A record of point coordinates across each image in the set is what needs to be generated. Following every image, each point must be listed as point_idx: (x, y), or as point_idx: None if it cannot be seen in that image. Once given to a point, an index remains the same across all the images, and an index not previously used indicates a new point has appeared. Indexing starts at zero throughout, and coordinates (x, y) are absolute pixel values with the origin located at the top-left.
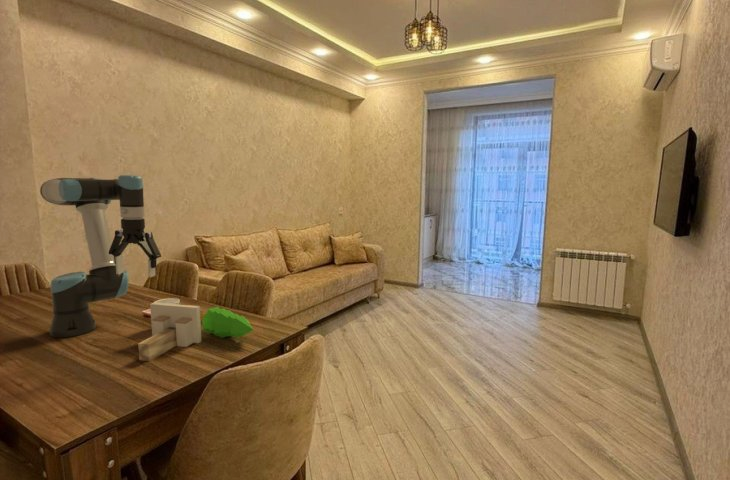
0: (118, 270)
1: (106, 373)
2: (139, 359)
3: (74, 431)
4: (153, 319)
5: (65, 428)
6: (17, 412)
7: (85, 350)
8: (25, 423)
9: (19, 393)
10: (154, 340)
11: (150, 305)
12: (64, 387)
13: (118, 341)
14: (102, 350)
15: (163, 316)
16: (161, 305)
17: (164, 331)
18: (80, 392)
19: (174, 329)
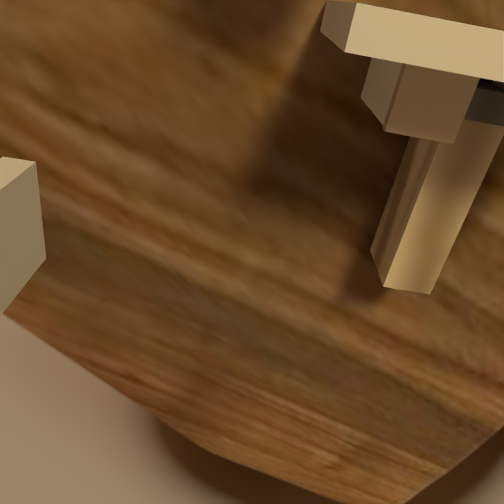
0: (23, 280)
1: (312, 329)
2: (370, 251)
3: (387, 495)
4: (390, 131)
5: (366, 489)
6: (236, 456)
7: (109, 180)
8: (282, 479)
9: (170, 407)
10: (439, 257)
11: (345, 51)
12: (252, 388)
13: (171, 78)
14: (175, 178)
15: (439, 80)
16: (447, 71)
17: (450, 154)
18: (309, 404)
19: (498, 122)
